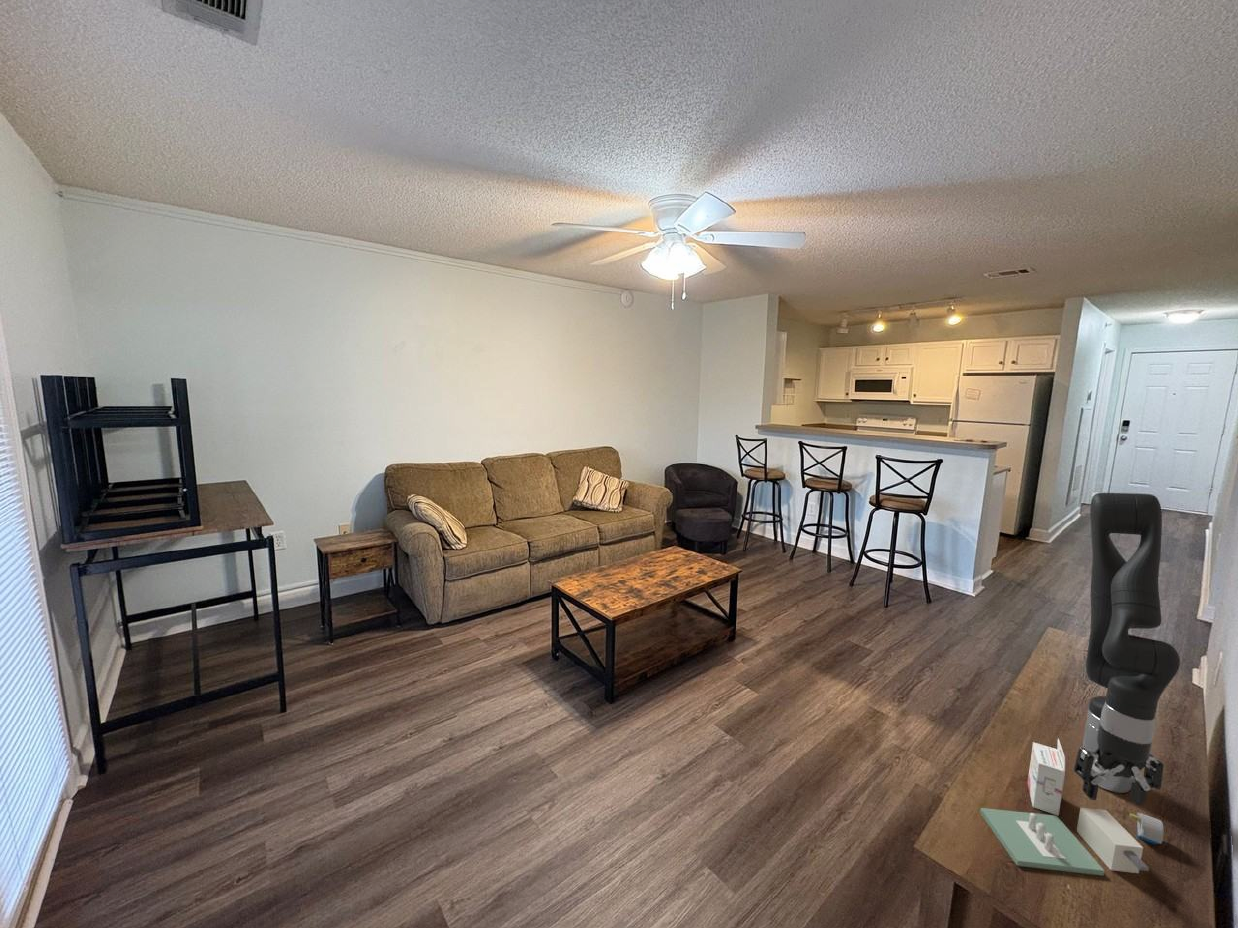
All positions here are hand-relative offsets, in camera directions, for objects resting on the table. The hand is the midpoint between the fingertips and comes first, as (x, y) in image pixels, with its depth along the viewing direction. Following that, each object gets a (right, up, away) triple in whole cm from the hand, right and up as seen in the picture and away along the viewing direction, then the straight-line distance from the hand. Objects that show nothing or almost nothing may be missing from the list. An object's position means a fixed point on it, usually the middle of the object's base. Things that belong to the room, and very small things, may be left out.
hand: (1112, 799), depth 103 cm
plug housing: (0, -12, 0) cm, 12 cm away
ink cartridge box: (-2, -10, +15) cm, 18 cm away
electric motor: (+12, -12, +5) cm, 18 cm away
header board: (-12, -12, +4) cm, 18 cm away
